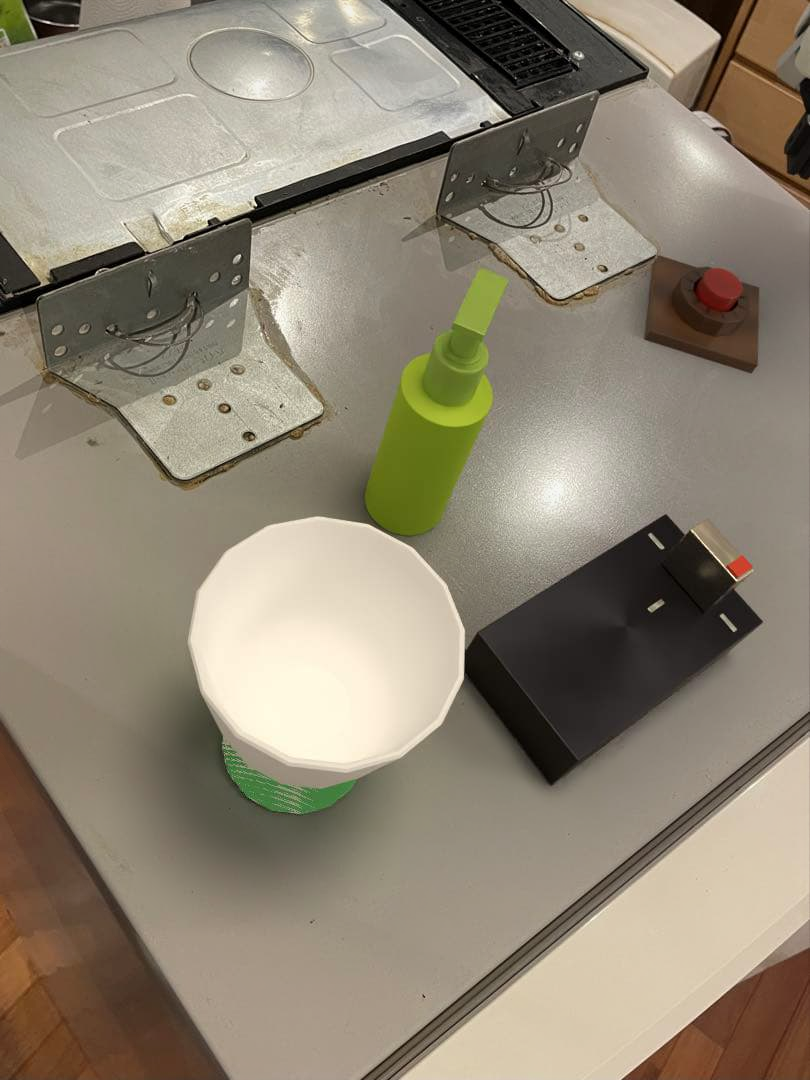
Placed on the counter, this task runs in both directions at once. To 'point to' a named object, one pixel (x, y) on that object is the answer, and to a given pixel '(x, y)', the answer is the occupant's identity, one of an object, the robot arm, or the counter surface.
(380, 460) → the soap dispenser
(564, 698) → the black switch box
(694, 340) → the block
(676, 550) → the red-tipped black block
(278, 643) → the cup
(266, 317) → the counter surface
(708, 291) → the button
